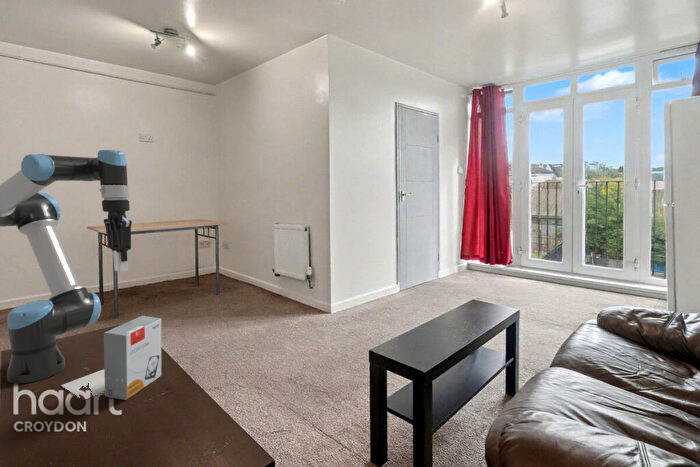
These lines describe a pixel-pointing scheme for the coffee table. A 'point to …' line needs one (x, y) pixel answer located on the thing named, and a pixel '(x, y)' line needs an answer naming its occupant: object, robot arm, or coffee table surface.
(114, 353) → the hard drive box
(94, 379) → the mat
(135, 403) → the coffee table surface
